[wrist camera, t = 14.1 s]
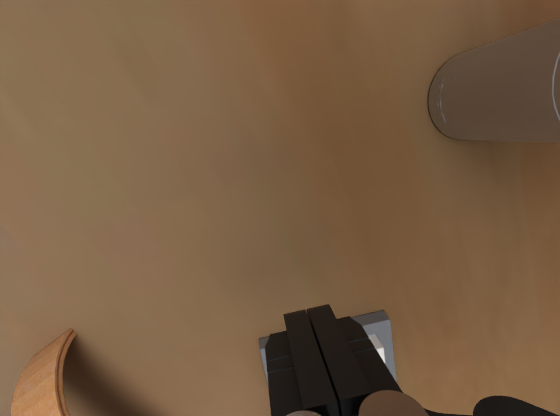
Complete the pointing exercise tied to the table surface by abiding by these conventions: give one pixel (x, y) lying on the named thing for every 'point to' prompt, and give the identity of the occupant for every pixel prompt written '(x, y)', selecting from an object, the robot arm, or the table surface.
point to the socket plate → (369, 327)
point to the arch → (43, 382)
